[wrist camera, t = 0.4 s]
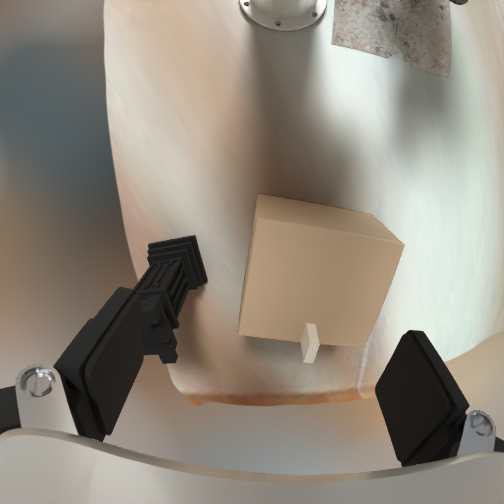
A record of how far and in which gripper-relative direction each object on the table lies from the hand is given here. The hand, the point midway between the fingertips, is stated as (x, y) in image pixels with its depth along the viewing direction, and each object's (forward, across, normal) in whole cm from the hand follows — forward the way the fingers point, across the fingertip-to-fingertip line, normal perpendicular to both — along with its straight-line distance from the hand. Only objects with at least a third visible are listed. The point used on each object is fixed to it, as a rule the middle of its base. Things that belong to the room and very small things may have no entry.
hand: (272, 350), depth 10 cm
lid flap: (+24, -8, +10) cm, 27 cm away
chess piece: (+36, +12, +15) cm, 41 cm away
